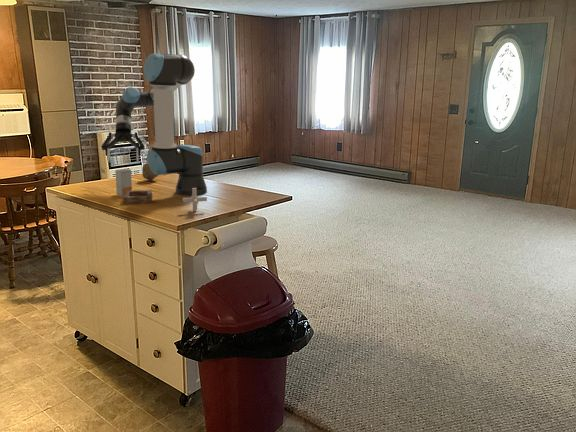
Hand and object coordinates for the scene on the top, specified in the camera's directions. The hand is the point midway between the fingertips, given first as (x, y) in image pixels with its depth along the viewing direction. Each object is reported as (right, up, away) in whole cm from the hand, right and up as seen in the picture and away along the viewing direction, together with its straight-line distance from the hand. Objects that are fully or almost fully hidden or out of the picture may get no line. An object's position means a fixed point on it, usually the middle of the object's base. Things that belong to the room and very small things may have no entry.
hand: (123, 160), depth 245 cm
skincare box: (+2, -17, -4) cm, 18 cm away
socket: (+12, -20, -14) cm, 27 cm away
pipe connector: (+41, -25, -31) cm, 57 cm away
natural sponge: (+6, -8, +28) cm, 30 cm away
